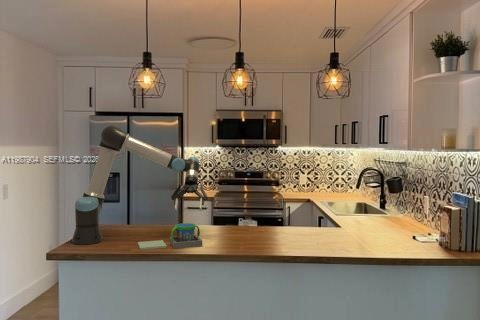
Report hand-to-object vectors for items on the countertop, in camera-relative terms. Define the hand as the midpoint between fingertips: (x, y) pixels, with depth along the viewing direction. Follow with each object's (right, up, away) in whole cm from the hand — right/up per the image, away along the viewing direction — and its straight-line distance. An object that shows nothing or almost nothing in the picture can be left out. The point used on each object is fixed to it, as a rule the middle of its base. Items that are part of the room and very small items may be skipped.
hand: (188, 209), depth 224 cm
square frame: (0, -17, -10) cm, 20 cm away
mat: (-17, -17, -13) cm, 27 cm away
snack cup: (0, -17, -10) cm, 20 cm away
